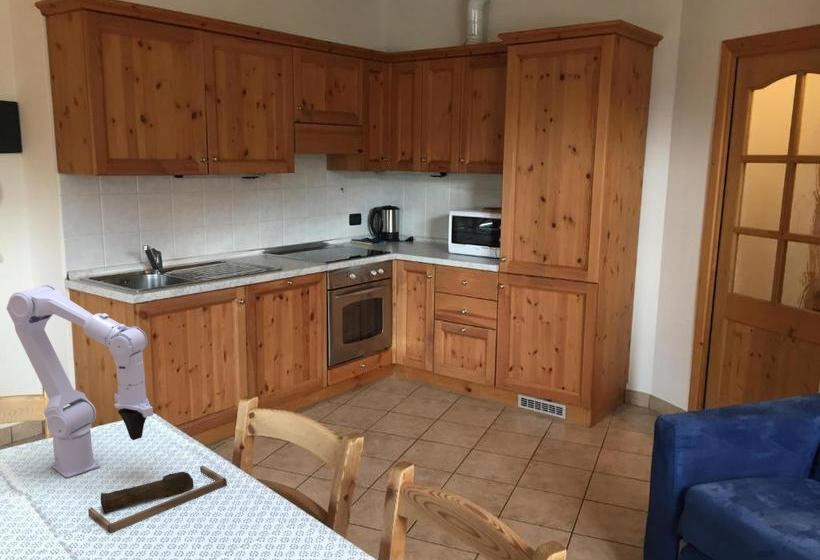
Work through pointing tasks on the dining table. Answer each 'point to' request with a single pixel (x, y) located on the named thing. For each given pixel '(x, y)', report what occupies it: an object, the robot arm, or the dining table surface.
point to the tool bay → (161, 507)
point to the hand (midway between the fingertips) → (136, 438)
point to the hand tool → (148, 491)
